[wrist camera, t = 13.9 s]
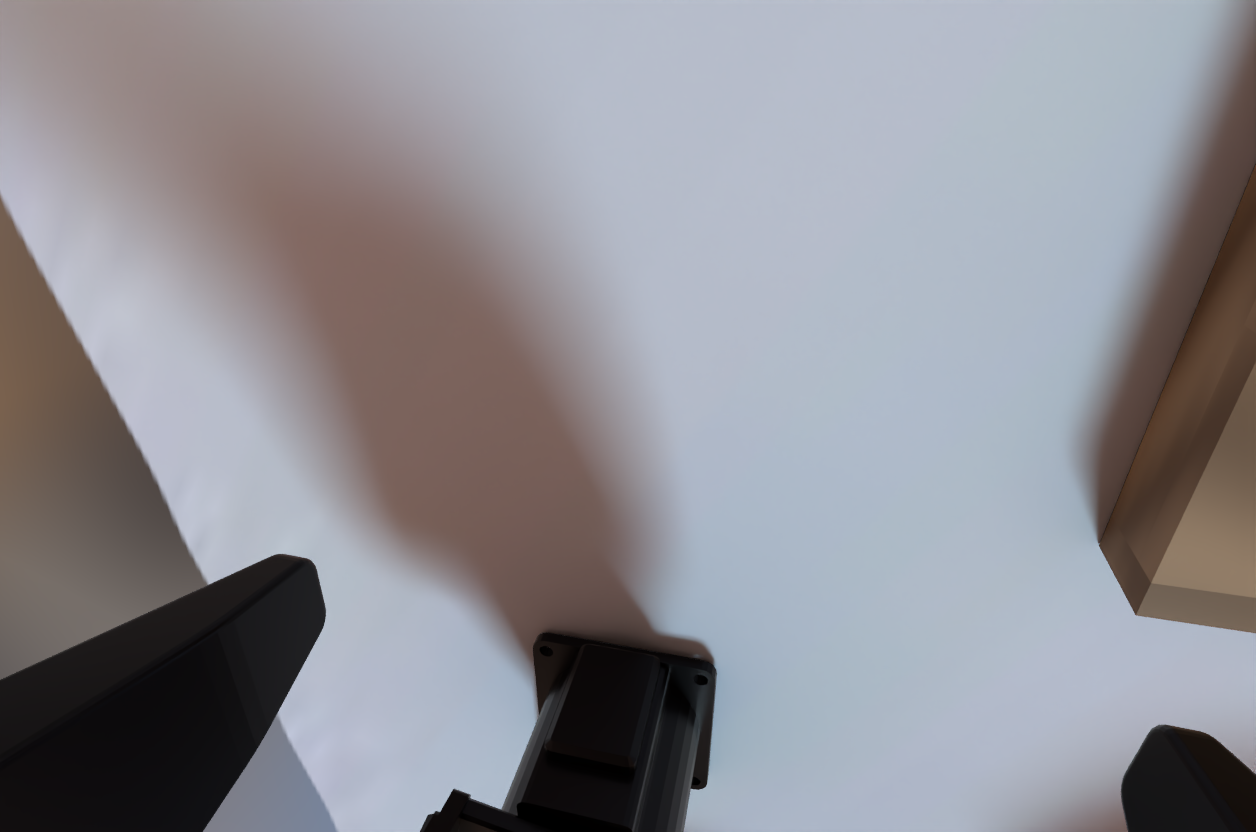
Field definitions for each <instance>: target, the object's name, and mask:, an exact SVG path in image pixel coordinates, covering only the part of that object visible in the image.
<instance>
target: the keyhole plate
mask: <svg viewBox="0 0 1256 832" xmlns="http://www.w3.org/2000/svg"><path fill="white" fill-rule="evenodd" d="M1099 547H1100V549H1101V550H1102V552H1103V554H1104V556H1105V558H1106V560H1107V562H1108V564H1109V566H1110V567H1111V569H1112V571H1113V573H1114V575H1115V577H1116V579H1117V581H1118V583H1119V584H1120V586H1121V588H1122V590H1123V592H1124V594H1125V596H1126V598H1127V600H1128V601H1129V603H1130V605H1131V607H1132V609H1133V611H1134V613H1135V615H1137V616H1144V617H1151V618H1157V619H1164V620H1171V621H1178V622H1184V623H1191V624H1198V625H1204V626H1211V627H1218V628H1225V629H1231V630H1238V631H1245V632H1251V633H1256V165H1255V168H1254V170H1253V172H1252V175H1251V177H1250V180H1249V182H1248V185H1247V187H1246V189H1245V192H1244V194H1243V197H1242V199H1241V202H1240V204H1239V206H1238V209H1237V211H1236V214H1235V216H1234V219H1233V221H1232V223H1231V226H1230V228H1229V231H1228V233H1227V236H1226V238H1225V240H1224V243H1223V245H1222V248H1221V250H1220V253H1219V255H1218V257H1217V260H1216V262H1215V265H1214V267H1213V270H1212V272H1211V274H1210V277H1209V279H1208V282H1207V284H1206V287H1205V289H1204V291H1203V294H1202V296H1201V299H1200V301H1199V304H1198V306H1197V308H1196V311H1195V313H1194V316H1193V318H1192V321H1191V323H1190V325H1189V328H1188V330H1187V333H1186V335H1185V338H1184V340H1183V342H1182V345H1181V347H1180V350H1179V352H1178V355H1177V357H1176V360H1175V362H1174V364H1173V367H1172V369H1171V372H1170V374H1169V377H1168V379H1167V381H1166V384H1165V386H1164V389H1163V391H1162V394H1161V396H1160V398H1159V401H1158V403H1157V406H1156V408H1155V411H1154V413H1153V415H1152V418H1151V420H1150V423H1149V425H1148V428H1147V430H1146V432H1145V435H1144V437H1143V440H1142V442H1141V445H1140V447H1139V449H1138V452H1137V454H1136V457H1135V459H1134V462H1133V464H1132V466H1131V469H1130V471H1129V474H1128V476H1127V479H1126V481H1125V483H1124V486H1123V488H1122V491H1121V493H1120V496H1119V498H1118V500H1117V503H1116V505H1115V508H1114V510H1113V513H1112V515H1111V517H1110V520H1109V522H1108V525H1107V527H1106V530H1105V532H1104V534H1103V537H1102V539H1101V542H1100V544H1099Z"/></svg>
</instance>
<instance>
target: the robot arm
mask: <svg viewBox="0 0 1256 832" xmlns="http://www.w3.org/2000/svg"><path fill="white" fill-rule="evenodd" d="M325 617H326V608H325V603H324V599H323V595H322V590H321V586H320V582H319V578H318V573H317V569H316V566H315V565H314V563H313V562H312V561H311V560H309V559H307V558H302V557H297V556H292V555H287V554H277V555H273V556H271V557H269V558H266V559H264V560H262V561H260V562H258V563H255V564H253V565H251V566H249V567H247V568H244V569H242V570H240V571H238V572H236V573H234V574H231V575H229V576H227V577H225V578H223V579H220V580H218V581H216V582H214V583H212V584H209V585H207V586H205V587H203V588H201V589H198V590H196V591H194V592H192V593H190V594H188V595H185V596H183V597H181V598H179V599H177V600H175V601H172V602H170V603H168V604H166V605H164V606H162V607H159V608H157V609H155V610H153V611H150V612H148V613H146V614H144V615H141V616H140V617H137V618H135V619H133V620H131V621H128V622H126V623H124V624H122V625H120V626H117V627H115V628H113V629H111V630H109V631H106V632H104V633H102V634H100V635H98V636H96V637H93V638H91V639H89V640H87V641H84V642H82V643H80V644H78V645H76V646H74V647H71V648H69V649H67V650H65V651H63V652H60V653H58V654H56V655H54V656H52V657H49V658H47V659H45V660H43V661H41V662H38V663H36V664H34V665H32V666H30V667H28V668H25V669H23V670H21V671H19V672H16V673H14V674H12V675H10V676H8V677H6V678H3V679H1V680H0V832H203V830H204V829H205V827H206V826H207V824H208V823H209V821H210V820H211V818H212V817H213V815H214V814H215V812H216V811H217V809H218V808H219V806H220V805H221V803H222V802H223V800H224V799H225V797H226V796H227V794H228V793H229V791H230V790H231V788H232V787H233V785H234V784H235V782H236V781H237V779H238V778H239V776H240V775H241V773H242V772H243V770H244V769H245V767H246V766H247V764H248V762H249V761H250V759H251V758H252V756H253V755H254V753H255V752H256V750H257V748H258V746H259V745H260V743H261V741H262V740H263V738H264V736H265V735H266V733H267V731H268V729H269V728H270V726H271V724H272V722H273V720H274V718H275V716H276V715H277V713H278V711H279V709H280V707H281V705H282V703H283V702H284V700H285V698H286V696H287V694H288V692H289V690H290V689H291V687H292V685H293V683H294V681H295V679H296V677H297V676H298V674H299V672H300V670H301V668H302V666H303V664H304V663H305V661H306V659H307V657H308V655H309V653H310V652H311V650H312V648H313V646H314V644H315V642H316V640H317V639H318V637H319V635H320V633H321V631H322V629H323V626H324V623H325ZM549 647H550V648H549ZM533 655H534V665H535V676H536V686H537V697H538V707H539V717H538V720H537V722H536V725H535V727H534V730H533V732H532V735H531V737H530V740H529V742H528V745H527V747H526V750H525V752H524V755H523V757H522V760H521V762H520V765H519V767H518V770H517V772H516V775H515V777H514V780H513V782H512V785H511V787H510V789H509V792H508V794H507V797H506V799H505V802H504V804H503V807H502V809H498V808H495V807H492V806H490V805H487V804H484V803H482V802H479V801H476V800H473V799H471V798H470V796H471V795H470V794H467V793H464V792H462V791H459V790H456V789H453V791H452V792H451V794H450V796H449V798H448V799H447V801H446V803H445V805H444V806H443V808H442V810H441V812H437V811H435V813H434V814H430V815H428V816H427V818H426V820H425V822H424V824H423V826H422V828H421V830H420V832H683V831H684V825H685V819H686V813H687V807H688V801H689V795H690V789H697V790H699V789H703V788H704V787H706V785H707V780H708V772H709V761H710V749H711V737H712V725H713V713H714V702H715V690H716V678H717V671H716V669H715V667H714V666H713V665H712V664H710V663H709V662H706V661H703V660H697V659H692V658H686V657H680V656H675V655H669V654H664V653H658V652H653V651H647V650H642V649H636V648H631V647H625V646H619V645H614V644H608V643H603V642H597V641H592V640H586V639H581V638H575V637H570V636H564V635H558V634H553V633H542V634H540V635H539V636H538V637H537V639H536V641H535V643H534V646H533ZM700 675H703V676H700ZM1121 799H1122V805H1123V810H1124V815H1125V820H1126V825H1127V829H1128V832H1256V774H1255V773H1254V772H1252V771H1251V770H1250V769H1249V768H1248V767H1247V766H1246V765H1245V764H1243V763H1242V762H1241V761H1240V760H1239V759H1238V758H1237V757H1236V756H1234V755H1233V754H1232V753H1231V752H1230V751H1229V750H1228V749H1226V748H1225V747H1224V746H1223V745H1222V744H1221V743H1220V742H1218V741H1217V740H1216V739H1215V738H1213V737H1212V736H1210V735H1208V734H1206V733H1203V732H1200V731H1195V730H1190V729H1185V728H1180V727H1175V726H1170V725H1158V726H1156V727H1154V728H1152V729H1151V730H1150V732H1149V733H1148V735H1147V736H1146V738H1145V740H1144V742H1143V743H1142V745H1141V747H1140V749H1139V750H1138V752H1137V754H1136V755H1135V757H1134V759H1133V761H1132V762H1131V764H1130V766H1129V767H1128V769H1127V771H1126V773H1125V775H1124V777H1123V781H1122V786H1121Z"/></svg>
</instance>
